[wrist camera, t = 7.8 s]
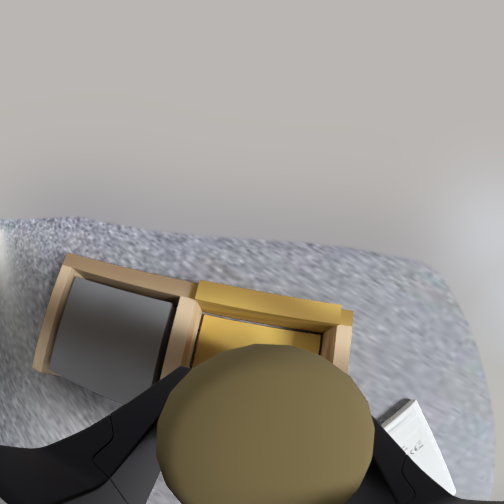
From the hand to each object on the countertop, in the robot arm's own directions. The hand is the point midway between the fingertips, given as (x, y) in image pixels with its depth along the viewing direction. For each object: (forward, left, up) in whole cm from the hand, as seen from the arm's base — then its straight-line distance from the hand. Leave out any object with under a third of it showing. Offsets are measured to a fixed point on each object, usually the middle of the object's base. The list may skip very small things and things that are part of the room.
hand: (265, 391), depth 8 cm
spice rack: (-2, +5, -9) cm, 11 cm away
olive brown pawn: (-1, 0, -7) cm, 7 cm away
